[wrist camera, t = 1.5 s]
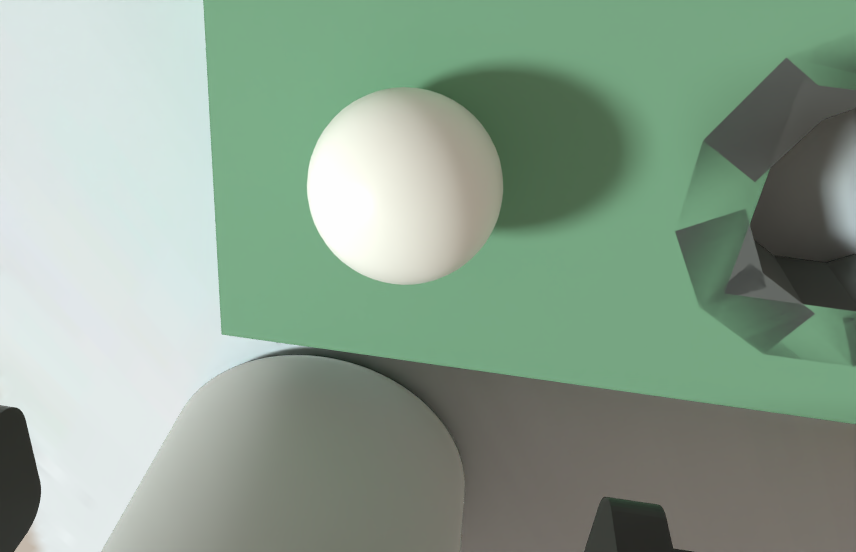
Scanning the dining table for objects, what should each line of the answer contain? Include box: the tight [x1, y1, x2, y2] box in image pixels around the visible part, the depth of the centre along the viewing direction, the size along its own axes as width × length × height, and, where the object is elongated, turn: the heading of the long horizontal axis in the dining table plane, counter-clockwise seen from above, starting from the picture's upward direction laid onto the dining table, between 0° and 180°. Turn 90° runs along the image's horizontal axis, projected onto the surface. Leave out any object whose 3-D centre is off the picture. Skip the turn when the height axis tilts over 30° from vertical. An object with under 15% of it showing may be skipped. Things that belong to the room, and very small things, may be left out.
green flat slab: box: [203, 0, 856, 424], centre depth 22 cm, size 15×25×3 cm, turn 84°
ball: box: [307, 87, 503, 285], centre depth 19 cm, size 5×5×5 cm
